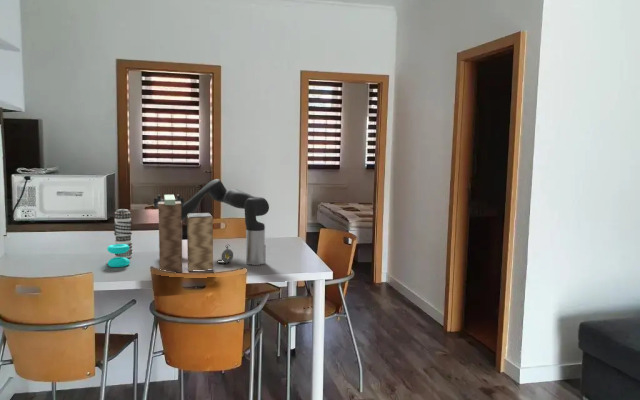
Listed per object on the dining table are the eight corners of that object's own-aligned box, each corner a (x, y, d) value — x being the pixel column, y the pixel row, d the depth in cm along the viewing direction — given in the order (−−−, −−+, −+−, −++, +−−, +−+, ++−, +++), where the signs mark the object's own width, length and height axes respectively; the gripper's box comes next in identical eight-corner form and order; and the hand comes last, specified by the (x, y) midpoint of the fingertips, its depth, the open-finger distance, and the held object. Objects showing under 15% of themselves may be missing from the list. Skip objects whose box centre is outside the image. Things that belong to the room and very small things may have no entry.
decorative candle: (137, 255, 264) (135, 209, 262) (123, 259, 256) (122, 211, 254) (124, 254, 268) (123, 208, 266) (110, 257, 260) (109, 210, 257)
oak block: (210, 264, 247) (210, 212, 244) (213, 270, 235) (212, 216, 233) (187, 266, 243) (187, 213, 241) (189, 272, 232) (188, 216, 229)
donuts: (106, 244, 244) (127, 242, 249) (106, 264, 245) (128, 262, 250) (108, 248, 235) (130, 246, 240) (109, 268, 236) (131, 266, 241)
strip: (173, 199, 247) (173, 194, 246) (175, 204, 224) (175, 199, 224) (164, 199, 245) (164, 194, 245) (164, 205, 223) (164, 199, 222)
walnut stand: (181, 266, 242) (180, 201, 239) (182, 271, 233) (181, 203, 230) (159, 267, 239) (158, 201, 236) (159, 272, 230) (158, 203, 227)
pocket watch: (219, 261, 255) (219, 241, 254) (235, 261, 254) (235, 242, 253) (213, 264, 247) (213, 244, 246) (229, 265, 246) (229, 245, 245)
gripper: (183, 216, 257) (184, 203, 243) (154, 217, 253) (153, 204, 239) (182, 203, 260) (183, 189, 246) (154, 203, 256) (153, 189, 242)
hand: (168, 196), depth 243 cm, fingers open, 8 cm apart
